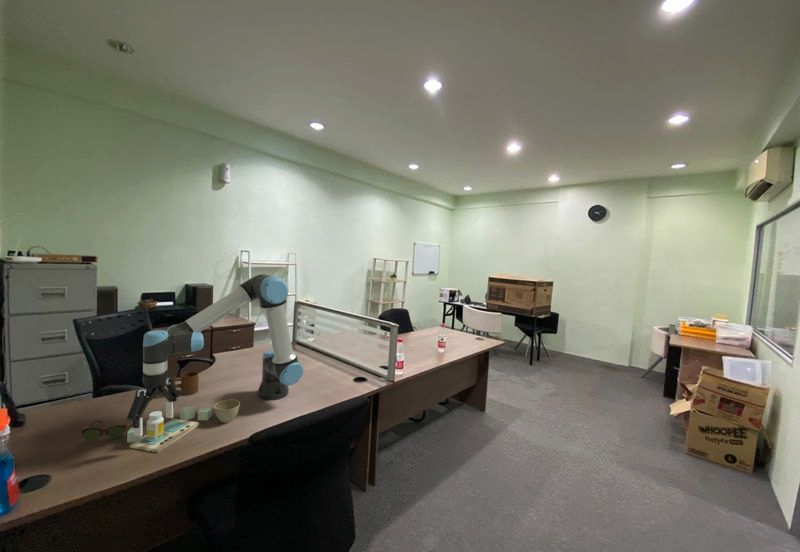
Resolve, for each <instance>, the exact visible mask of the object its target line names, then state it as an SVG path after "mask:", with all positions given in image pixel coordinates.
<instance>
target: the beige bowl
mask: <svg viewBox="0 0 800 552" xmlns="http://www.w3.org/2000/svg"><path fill="white" fill-rule="evenodd" d="M240 405H241V401H239V399H238V400H237V399H234V398H233V399H231V398H230V399H224V400H221V401H219V402H217V403H215V405H213V406H214V412H215V415H216V416H217V418H218V420H219V421H220V423H225V424H228V423H231V422H233V421H234V419H235V418H236V416H237V414H238V413H239V409H240Z"/></svg>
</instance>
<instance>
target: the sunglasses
mask: <svg viewBox="0 0 800 552" xmlns="http://www.w3.org/2000/svg"><path fill="white" fill-rule="evenodd" d="M97 422H98V423H99V422H100V423H103V421H101V420H100V419H99V420H94V421H93V422H92V423H90V424H88V425H87V426H85V427H84V428H83V429H81V430H80V433H82V437H83V440H84V441H86V442H89V441H90V440H91V441H98V440H99V439H100V437H102V435H103V433H104V432H105V433H106V436H108V438H110V439H116V438H115V437H117V438H122V437H123V436H124V434H125V432H126V428H128V427H129V426H130V425H132V424H133V420H131V422H130V423H129V424H125V425H124V424H120V425H113V426H110V427H108V428H105V429H102V428H98V427H92V428H91V427H90V426H92V425H93V424H95V423H97ZM88 427H90V428H88Z"/></svg>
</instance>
